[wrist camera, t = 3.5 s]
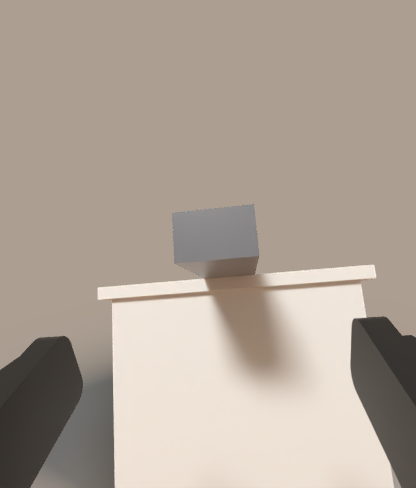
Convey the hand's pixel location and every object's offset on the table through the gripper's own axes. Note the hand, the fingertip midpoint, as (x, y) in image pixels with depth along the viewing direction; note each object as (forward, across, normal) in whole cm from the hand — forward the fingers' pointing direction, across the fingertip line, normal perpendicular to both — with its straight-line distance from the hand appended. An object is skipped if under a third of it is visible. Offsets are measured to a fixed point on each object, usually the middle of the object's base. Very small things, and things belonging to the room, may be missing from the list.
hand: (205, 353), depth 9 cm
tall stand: (+5, 0, +36) cm, 37 cm away
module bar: (+17, 0, +6) cm, 18 cm away
